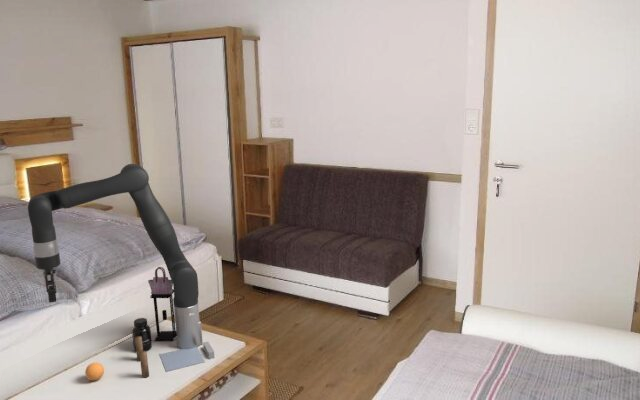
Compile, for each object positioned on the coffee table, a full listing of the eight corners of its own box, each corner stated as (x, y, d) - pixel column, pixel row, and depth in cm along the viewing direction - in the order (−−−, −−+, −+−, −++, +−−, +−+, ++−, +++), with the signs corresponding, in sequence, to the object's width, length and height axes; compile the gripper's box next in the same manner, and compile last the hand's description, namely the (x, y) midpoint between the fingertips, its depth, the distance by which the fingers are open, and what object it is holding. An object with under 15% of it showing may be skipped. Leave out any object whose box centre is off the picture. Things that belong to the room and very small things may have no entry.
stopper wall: (208, 347, 204) (208, 341, 204) (214, 357, 196) (214, 351, 196) (203, 348, 203) (203, 342, 203) (209, 359, 195) (208, 352, 195)
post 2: (148, 373, 186) (146, 350, 185) (149, 376, 184) (147, 353, 182) (141, 375, 185) (139, 352, 184) (142, 378, 183) (140, 355, 181)
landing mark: (196, 346, 206) (196, 345, 206) (204, 362, 193) (204, 361, 193) (159, 354, 200) (159, 354, 200) (166, 371, 187) (166, 371, 187)
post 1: (143, 357, 198) (141, 335, 196) (144, 360, 196) (142, 338, 194) (136, 359, 197) (134, 337, 195) (137, 362, 195) (135, 339, 193)
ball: (104, 373, 188) (102, 357, 187) (105, 381, 182) (103, 365, 181) (86, 377, 185) (83, 361, 184) (86, 385, 180) (84, 369, 179)
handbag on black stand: (182, 332, 217) (175, 264, 211) (176, 341, 210) (169, 270, 204) (157, 332, 218) (150, 264, 212) (150, 341, 211) (143, 270, 205)
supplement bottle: (146, 353, 201) (143, 324, 198) (130, 352, 202) (127, 323, 200) (155, 345, 207) (152, 317, 205) (139, 344, 209) (136, 316, 206)
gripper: (58, 257, 174) (65, 302, 177) (59, 246, 187) (64, 288, 190) (33, 260, 171) (40, 307, 174) (35, 249, 183) (41, 292, 187)
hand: (53, 297), depth 182 cm, fingers open, 8 cm apart
